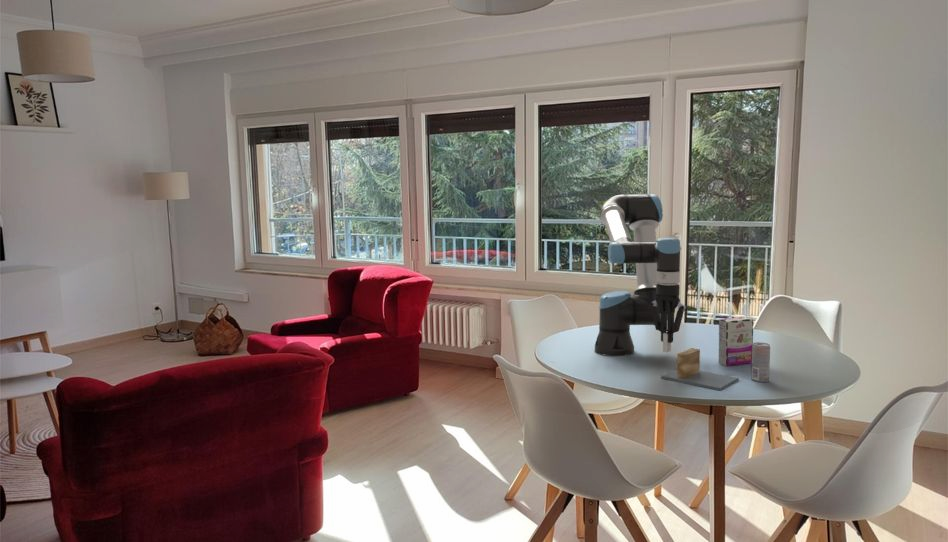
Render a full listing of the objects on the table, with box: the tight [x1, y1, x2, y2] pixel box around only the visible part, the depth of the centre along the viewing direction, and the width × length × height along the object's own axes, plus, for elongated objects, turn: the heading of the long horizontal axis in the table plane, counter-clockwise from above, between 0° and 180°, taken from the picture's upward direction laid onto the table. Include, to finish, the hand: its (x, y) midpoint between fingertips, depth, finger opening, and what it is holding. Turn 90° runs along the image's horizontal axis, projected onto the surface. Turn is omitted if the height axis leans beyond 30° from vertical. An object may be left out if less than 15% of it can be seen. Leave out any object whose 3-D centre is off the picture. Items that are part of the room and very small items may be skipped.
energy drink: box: [750, 342, 771, 383], centre depth 204 cm, size 5×5×12 cm
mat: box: [661, 368, 740, 391], centre depth 207 cm, size 20×14×1 cm
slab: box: [676, 347, 701, 379], centre depth 209 cm, size 3×10×8 cm, turn 135°
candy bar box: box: [718, 316, 754, 367], centre depth 224 cm, size 11×5×16 cm, turn 105°
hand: (666, 351), depth 214 cm, fingers closed
